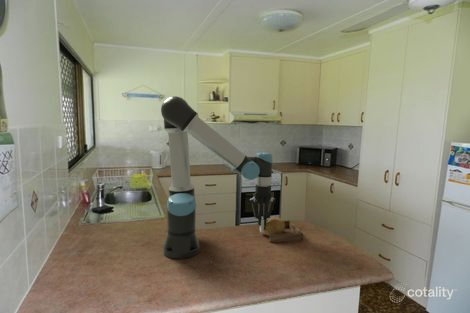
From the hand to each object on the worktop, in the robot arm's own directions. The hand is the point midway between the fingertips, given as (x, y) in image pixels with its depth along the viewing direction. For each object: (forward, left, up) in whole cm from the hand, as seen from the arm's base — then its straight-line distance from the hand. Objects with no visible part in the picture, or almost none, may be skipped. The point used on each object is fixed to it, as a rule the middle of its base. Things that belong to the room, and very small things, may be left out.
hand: (261, 231), depth 139 cm
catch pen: (0, -10, -2) cm, 10 cm away
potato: (0, -7, -2) cm, 7 cm away
